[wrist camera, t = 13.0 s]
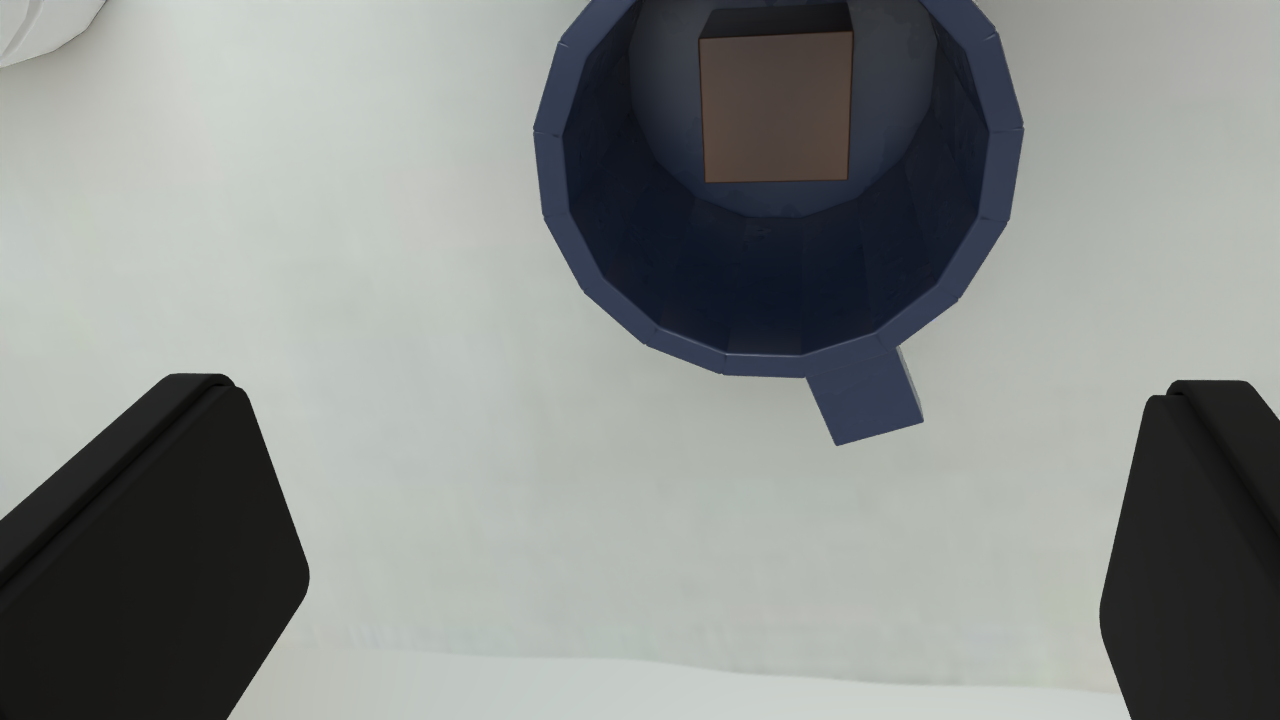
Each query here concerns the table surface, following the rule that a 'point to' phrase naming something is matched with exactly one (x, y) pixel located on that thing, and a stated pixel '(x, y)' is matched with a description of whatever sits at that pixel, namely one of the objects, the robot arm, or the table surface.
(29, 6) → the honey pot
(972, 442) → the table surface
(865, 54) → the pot
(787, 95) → the block
